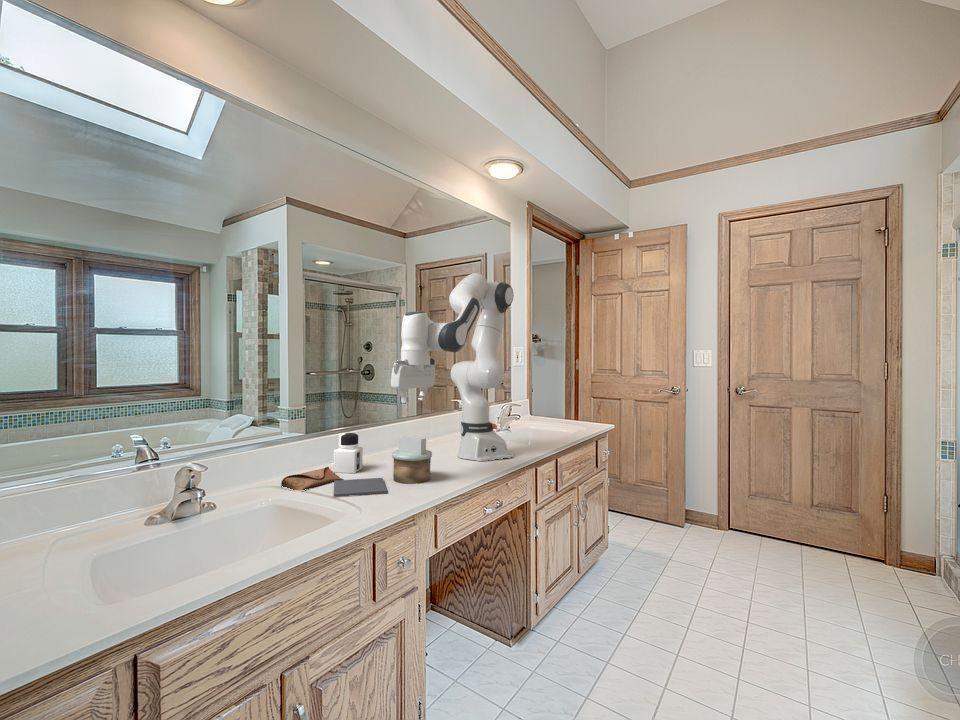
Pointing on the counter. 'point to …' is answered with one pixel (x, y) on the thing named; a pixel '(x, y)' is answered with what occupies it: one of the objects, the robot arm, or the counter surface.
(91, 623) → the counter surface
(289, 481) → the sunglasses case
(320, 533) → the counter surface
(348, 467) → the container
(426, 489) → the counter surface
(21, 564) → the counter surface
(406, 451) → the lid
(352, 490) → the mat
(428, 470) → the canister
